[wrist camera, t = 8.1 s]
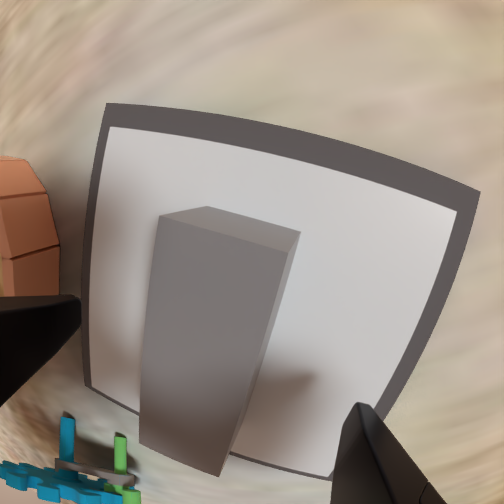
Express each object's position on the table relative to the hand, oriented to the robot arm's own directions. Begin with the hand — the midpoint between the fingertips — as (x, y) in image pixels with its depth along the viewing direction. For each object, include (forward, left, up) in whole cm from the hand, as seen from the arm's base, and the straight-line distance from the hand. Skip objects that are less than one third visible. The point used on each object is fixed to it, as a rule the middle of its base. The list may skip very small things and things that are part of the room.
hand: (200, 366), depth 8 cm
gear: (+7, +14, -4) cm, 16 cm away
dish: (+14, +1, -3) cm, 14 cm away
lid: (0, 0, -3) cm, 3 cm away
